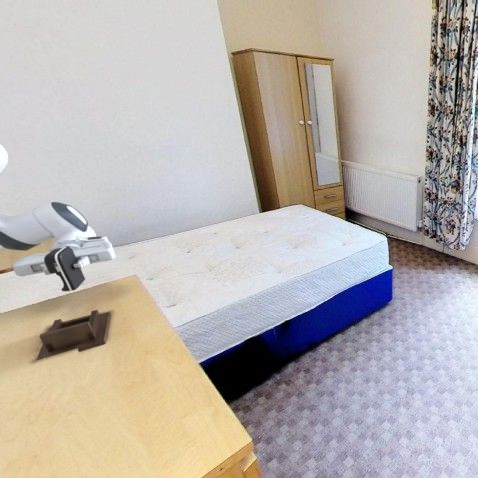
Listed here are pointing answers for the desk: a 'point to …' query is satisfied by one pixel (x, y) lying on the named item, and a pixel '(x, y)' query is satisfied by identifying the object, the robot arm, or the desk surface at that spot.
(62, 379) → the desk surface
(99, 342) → the dock
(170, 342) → the desk surface
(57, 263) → the battery charger
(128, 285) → the desk surface
